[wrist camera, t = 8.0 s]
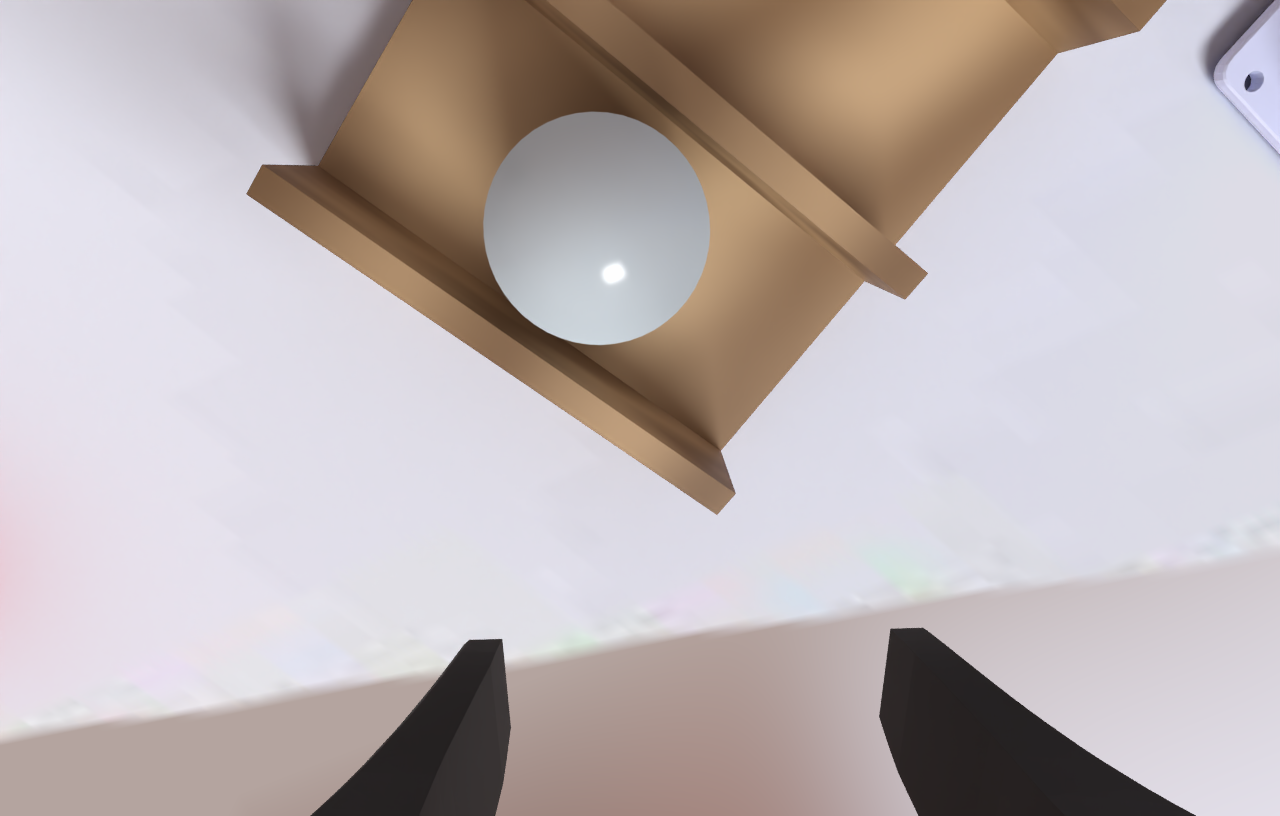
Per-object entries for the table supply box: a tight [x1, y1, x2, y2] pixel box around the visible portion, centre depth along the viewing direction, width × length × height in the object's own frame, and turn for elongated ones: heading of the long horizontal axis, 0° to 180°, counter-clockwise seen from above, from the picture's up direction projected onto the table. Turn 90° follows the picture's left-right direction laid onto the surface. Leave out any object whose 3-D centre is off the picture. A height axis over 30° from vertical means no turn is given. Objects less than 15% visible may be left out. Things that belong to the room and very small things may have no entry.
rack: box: [247, 0, 1166, 514], centre depth 17 cm, size 14×16×4 cm
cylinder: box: [483, 112, 710, 345], centre depth 16 cm, size 4×4×6 cm
